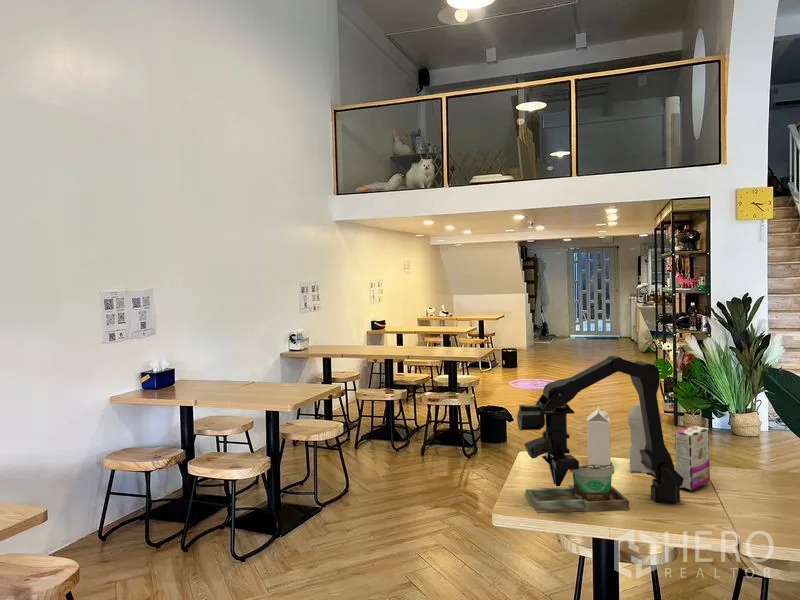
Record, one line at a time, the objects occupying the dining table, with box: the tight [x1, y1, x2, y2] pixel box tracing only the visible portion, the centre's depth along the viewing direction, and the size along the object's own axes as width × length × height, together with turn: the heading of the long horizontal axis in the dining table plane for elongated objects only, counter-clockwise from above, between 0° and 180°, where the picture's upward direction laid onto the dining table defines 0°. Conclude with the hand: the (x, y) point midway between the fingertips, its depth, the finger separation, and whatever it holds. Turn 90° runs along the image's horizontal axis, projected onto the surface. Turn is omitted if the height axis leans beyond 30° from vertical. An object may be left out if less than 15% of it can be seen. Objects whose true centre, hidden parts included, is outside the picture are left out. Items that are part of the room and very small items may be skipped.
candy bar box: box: [674, 425, 711, 491], centre depth 172 cm, size 11×5×16 cm, turn 126°
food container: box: [569, 461, 616, 501], centre depth 158 cm, size 12×6×10 cm, turn 95°
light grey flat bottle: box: [627, 403, 663, 474], centre depth 184 cm, size 11×4×22 cm, turn 87°
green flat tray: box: [524, 484, 630, 514], centre depth 160 cm, size 25×13×2 cm, turn 93°
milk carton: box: [586, 405, 612, 465], centre depth 192 cm, size 7×7×19 cm
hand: (556, 485), depth 159 cm, fingers closed
